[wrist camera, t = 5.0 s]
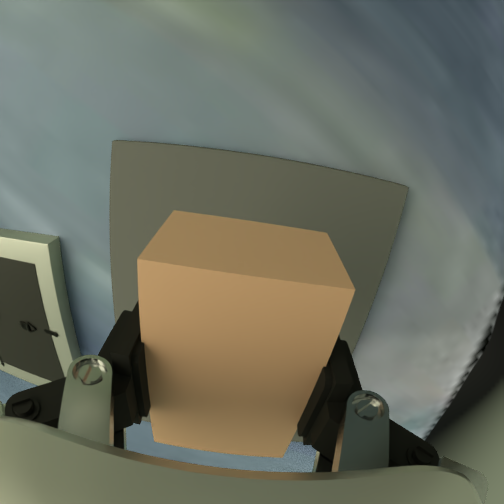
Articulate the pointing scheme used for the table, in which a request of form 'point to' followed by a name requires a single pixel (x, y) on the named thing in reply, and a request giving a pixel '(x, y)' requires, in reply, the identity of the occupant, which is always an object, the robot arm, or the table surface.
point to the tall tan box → (236, 329)
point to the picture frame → (34, 308)
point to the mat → (250, 210)
